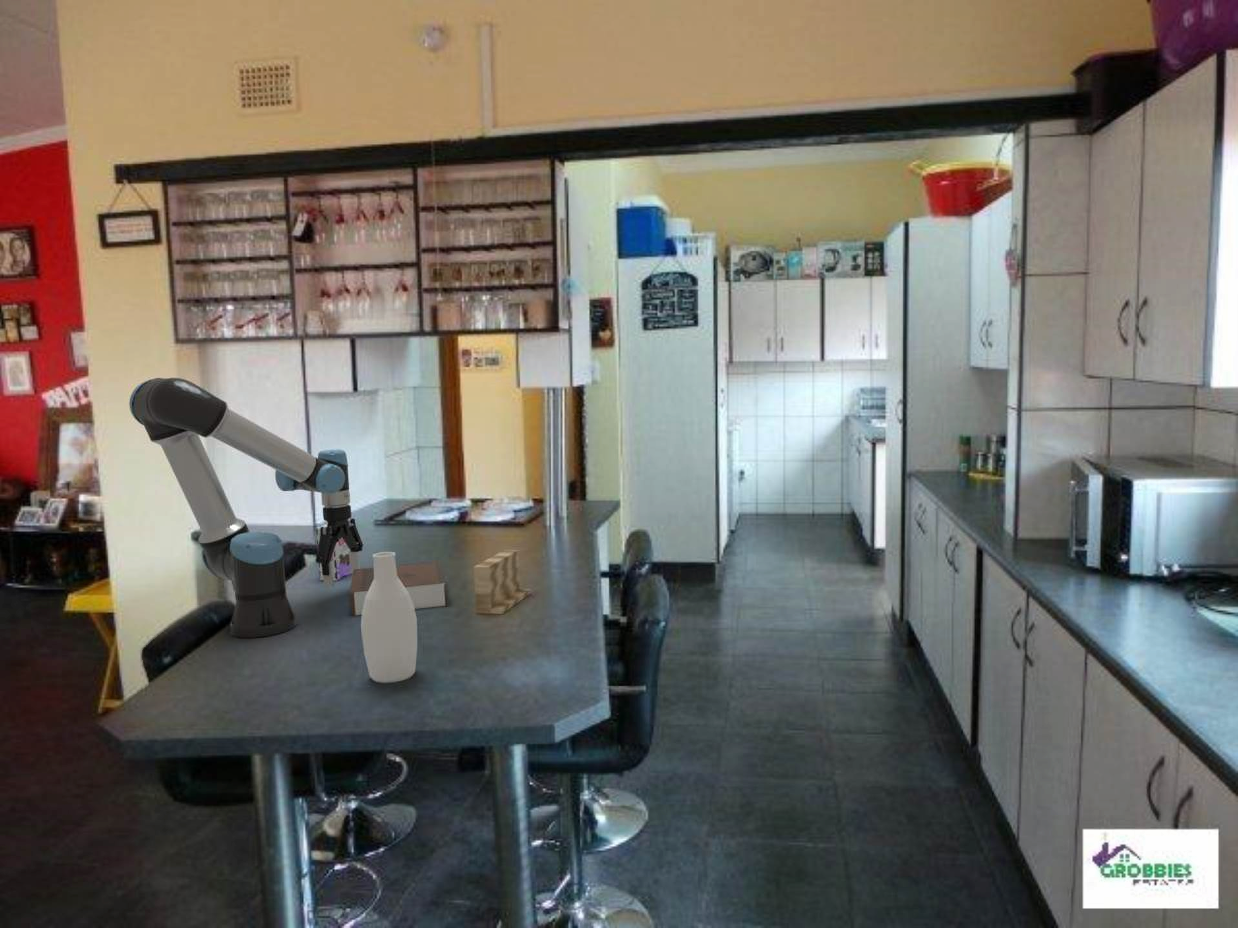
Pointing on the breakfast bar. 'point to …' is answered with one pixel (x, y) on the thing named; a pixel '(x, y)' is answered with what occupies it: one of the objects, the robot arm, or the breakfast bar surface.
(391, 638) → the bottle
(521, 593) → the bookend
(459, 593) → the breakfast bar surface
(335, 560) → the candy box
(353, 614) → the book
